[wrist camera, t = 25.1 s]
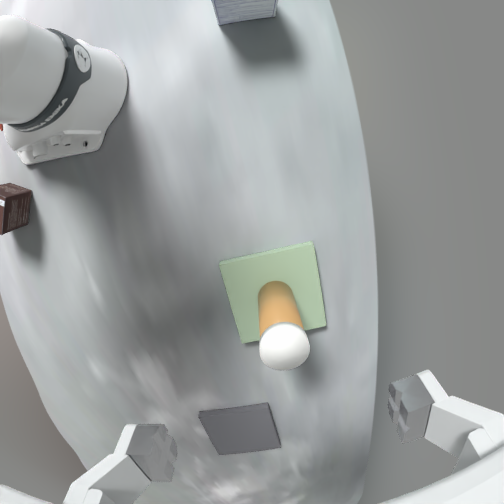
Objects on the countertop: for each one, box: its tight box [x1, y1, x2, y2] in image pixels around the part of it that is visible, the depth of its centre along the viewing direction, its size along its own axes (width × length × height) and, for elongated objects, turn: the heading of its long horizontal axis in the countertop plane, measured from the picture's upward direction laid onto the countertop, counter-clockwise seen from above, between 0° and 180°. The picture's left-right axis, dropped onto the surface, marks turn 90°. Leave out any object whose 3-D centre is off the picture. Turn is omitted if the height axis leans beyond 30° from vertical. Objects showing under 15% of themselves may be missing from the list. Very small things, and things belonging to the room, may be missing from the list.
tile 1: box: [219, 241, 326, 343], centre depth 45 cm, size 13×13×2 cm
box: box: [0, 183, 32, 235], centre depth 38 cm, size 6×6×7 cm
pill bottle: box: [258, 281, 310, 371], centre depth 37 cm, size 5×5×13 cm
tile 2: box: [199, 403, 281, 455], centre depth 54 cm, size 13×13×2 cm
